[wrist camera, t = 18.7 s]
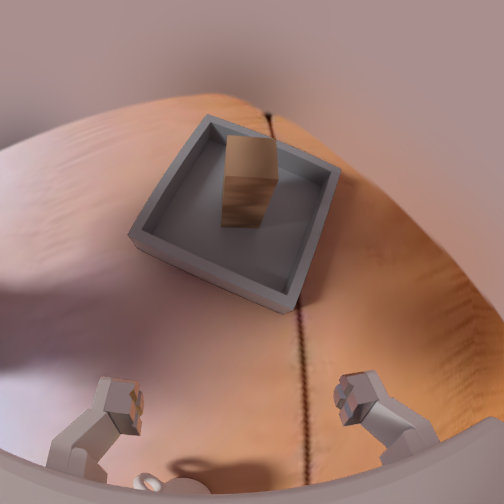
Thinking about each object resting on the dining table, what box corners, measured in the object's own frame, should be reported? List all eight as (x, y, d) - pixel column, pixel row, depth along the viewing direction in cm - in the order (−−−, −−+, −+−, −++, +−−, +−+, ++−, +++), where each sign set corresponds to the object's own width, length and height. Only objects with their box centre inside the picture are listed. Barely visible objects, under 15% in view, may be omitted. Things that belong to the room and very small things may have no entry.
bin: (137, 248, 35) (127, 234, 31) (206, 136, 42) (207, 114, 37) (282, 314, 35) (293, 309, 31) (328, 187, 42) (341, 169, 37)
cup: (127, 478, 26) (109, 505, 18) (163, 445, 28) (151, 470, 21) (192, 523, 25) (189, 555, 17) (230, 493, 27) (235, 524, 20)
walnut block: (220, 227, 37) (225, 175, 25) (222, 193, 38) (227, 135, 27) (258, 228, 37) (278, 179, 26) (258, 195, 39) (276, 138, 27)
